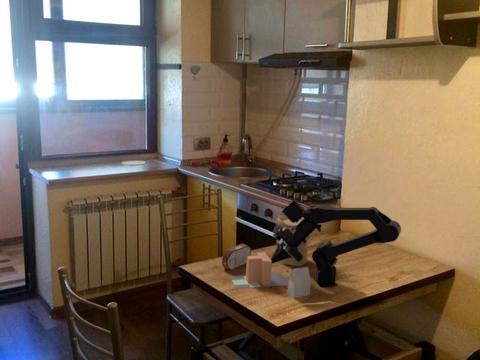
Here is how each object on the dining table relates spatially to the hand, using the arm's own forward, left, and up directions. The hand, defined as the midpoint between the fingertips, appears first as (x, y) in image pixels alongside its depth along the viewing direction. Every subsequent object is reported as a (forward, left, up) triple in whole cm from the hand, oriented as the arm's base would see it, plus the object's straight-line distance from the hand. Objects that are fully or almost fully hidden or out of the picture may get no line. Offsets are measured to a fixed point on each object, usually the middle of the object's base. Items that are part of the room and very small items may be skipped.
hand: (270, 262), depth 185 cm
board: (+4, 0, -7) cm, 8 cm away
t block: (+5, 0, -7) cm, 8 cm away
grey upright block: (-6, +14, -7) cm, 17 cm away
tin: (+8, -16, -7) cm, 19 cm away
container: (-15, -18, -7) cm, 24 cm away
